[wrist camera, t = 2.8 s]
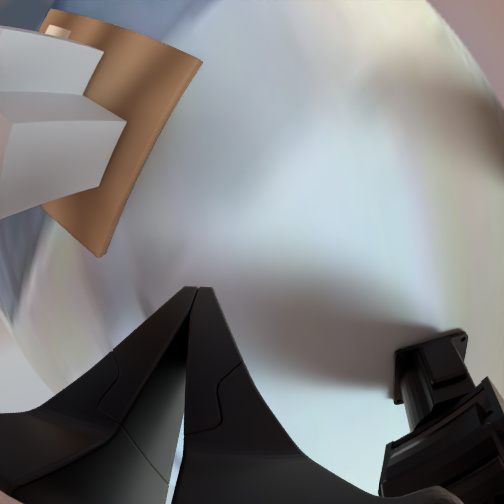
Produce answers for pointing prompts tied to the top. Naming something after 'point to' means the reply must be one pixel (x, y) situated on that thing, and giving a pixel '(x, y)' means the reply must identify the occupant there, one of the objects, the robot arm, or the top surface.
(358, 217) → the top surface
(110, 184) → the brown board
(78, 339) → the top surface
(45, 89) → the white block
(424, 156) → the top surface
